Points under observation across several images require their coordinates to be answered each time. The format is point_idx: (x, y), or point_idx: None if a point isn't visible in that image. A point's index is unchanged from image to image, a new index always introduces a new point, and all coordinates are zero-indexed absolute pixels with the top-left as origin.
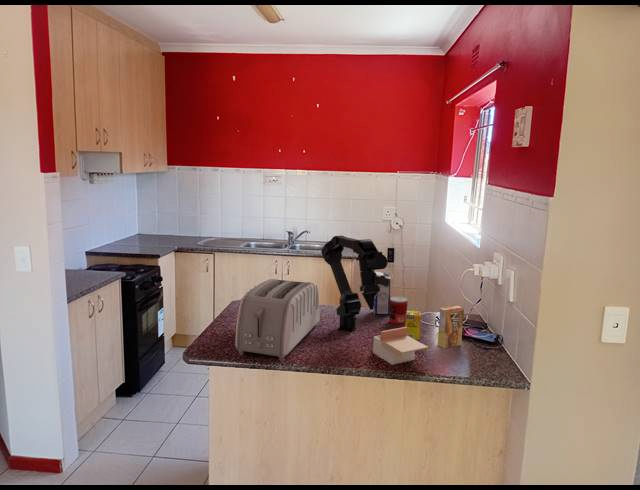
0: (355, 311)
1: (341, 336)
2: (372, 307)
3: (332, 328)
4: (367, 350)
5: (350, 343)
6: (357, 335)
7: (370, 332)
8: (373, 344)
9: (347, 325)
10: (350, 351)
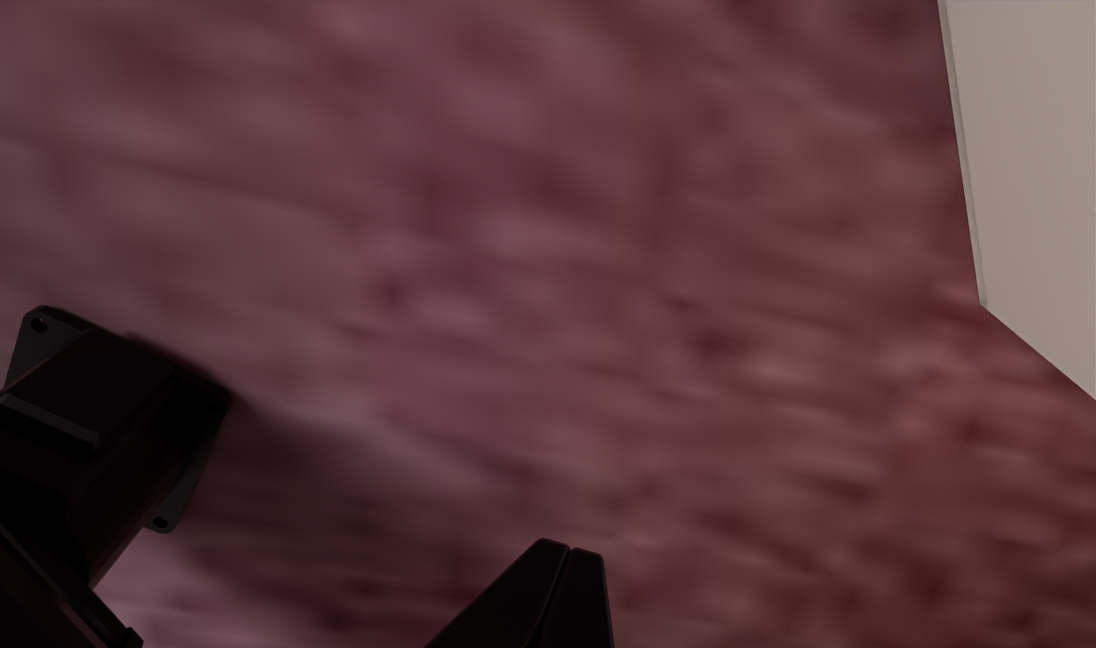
0: (2, 539)
1: (401, 527)
2: (604, 627)
3: (148, 568)
4: (880, 348)
5: (625, 481)
6: (364, 355)
7: (234, 156)
8: (1049, 357)
9: (165, 479)
10: (855, 523)
